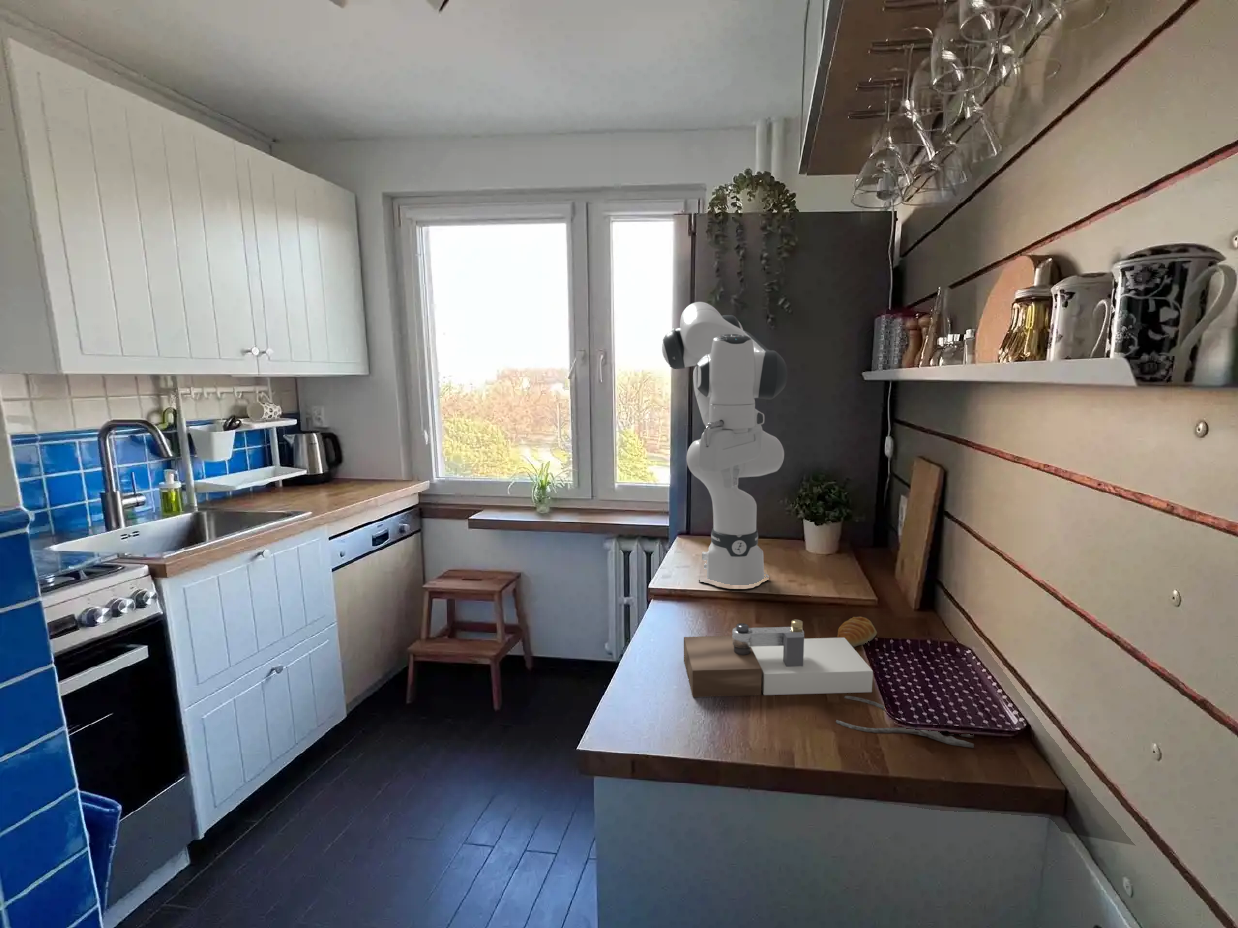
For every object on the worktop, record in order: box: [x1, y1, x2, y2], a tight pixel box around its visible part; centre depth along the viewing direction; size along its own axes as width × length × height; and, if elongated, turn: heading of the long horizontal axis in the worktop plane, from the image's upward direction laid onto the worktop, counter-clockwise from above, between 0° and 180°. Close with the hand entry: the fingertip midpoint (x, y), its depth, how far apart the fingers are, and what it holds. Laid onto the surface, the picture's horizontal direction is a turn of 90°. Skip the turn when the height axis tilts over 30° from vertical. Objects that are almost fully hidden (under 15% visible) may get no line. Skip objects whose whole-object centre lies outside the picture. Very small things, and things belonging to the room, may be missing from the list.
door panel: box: [751, 632, 874, 696], centre depth 112 cm, size 13×19×10 cm
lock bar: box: [731, 619, 805, 648], centre depth 111 cm, size 13×4×4 cm, turn 91°
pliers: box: [835, 695, 975, 749], centre depth 98 cm, size 10×1×20 cm
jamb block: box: [683, 635, 762, 698], centre depth 112 cm, size 13×12×6 cm
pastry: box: [836, 616, 878, 648], centre depth 127 cm, size 9×7×4 cm
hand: (730, 486), depth 122 cm, fingers closed
